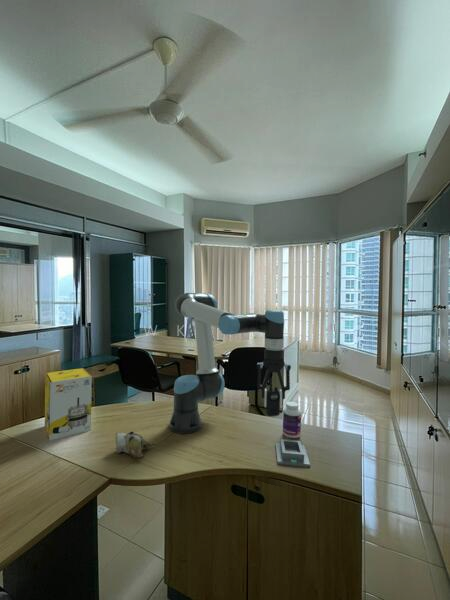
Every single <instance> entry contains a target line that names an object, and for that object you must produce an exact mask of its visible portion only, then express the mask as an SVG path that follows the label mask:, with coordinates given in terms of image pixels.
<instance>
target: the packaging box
mask: <svg viewBox="0 0 450 600" xmlns="http://www.w3.org/2000/svg"><path fill="white" fill-rule="evenodd" d="M92 382H93V375H92V374H90V373H89V372H88V371H87V370H86V369H85V368H84V367H81V368H75V369H74V368H73V369H68V370H67V369H66V370H60V371H59V370H58V371H51V372H50V371H49V372H45V373H44V429H45V431H46V434H47V436H48V440H49V441H50V442H51V441H55V440H59V439H62V438H66V437H69V436H74V435H77V434H81V433H85V432H89V431H92V395H93V394H92V389H93V388H92V384H93V383H92Z"/></svg>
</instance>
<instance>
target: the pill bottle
mask: <svg viewBox="0 0 450 600" xmlns="http://www.w3.org/2000/svg"><path fill="white" fill-rule="evenodd" d="M285 404H286V405H285V407H284V408H283V410H282V412H283V413H282V434H283V435H284V436H285V437H286V438H290V439H297V438H299V437H301V430H302V429H301V426H302V411H301V409H300V408H299V403H297V402H296V401H287V402H286V403H285Z"/></svg>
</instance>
